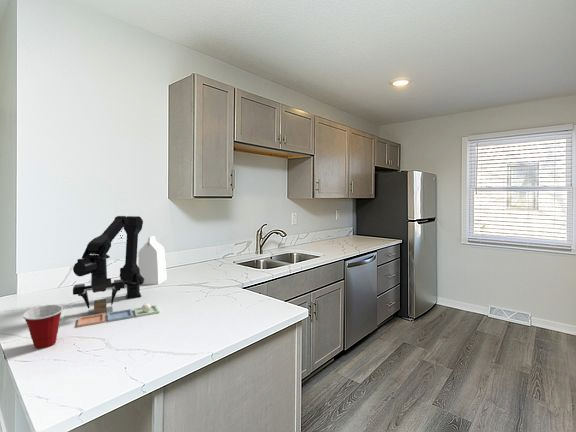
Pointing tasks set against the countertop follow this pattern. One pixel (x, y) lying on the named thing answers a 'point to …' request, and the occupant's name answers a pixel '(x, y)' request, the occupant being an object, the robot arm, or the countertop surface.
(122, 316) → the dish slate
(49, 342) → the plastic cup
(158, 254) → the milk
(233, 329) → the countertop surface
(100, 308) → the letter cube
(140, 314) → the dish sage
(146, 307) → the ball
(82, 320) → the dish terracotta
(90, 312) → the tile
